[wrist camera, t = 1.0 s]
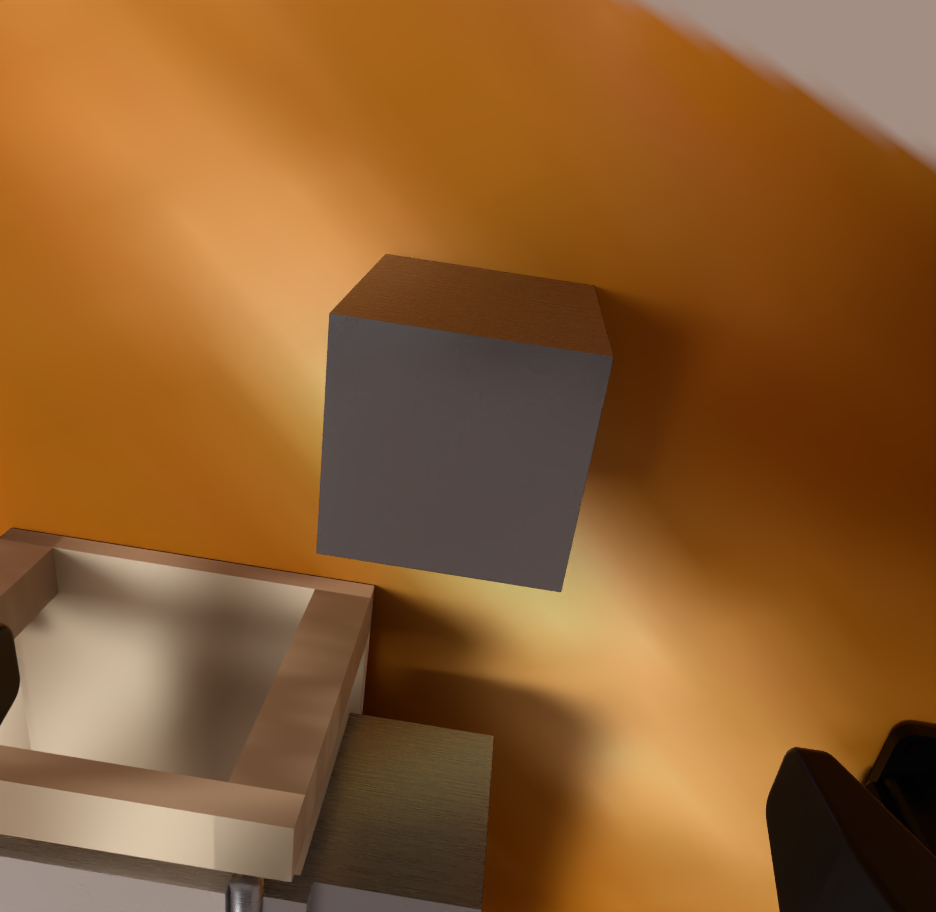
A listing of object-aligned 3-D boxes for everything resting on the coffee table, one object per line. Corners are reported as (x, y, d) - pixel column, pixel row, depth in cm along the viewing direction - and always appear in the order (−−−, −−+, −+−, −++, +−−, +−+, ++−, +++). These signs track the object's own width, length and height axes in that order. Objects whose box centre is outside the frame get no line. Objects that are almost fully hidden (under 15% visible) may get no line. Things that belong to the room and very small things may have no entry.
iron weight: (594, 284, 18) (614, 356, 13) (556, 471, 20) (560, 592, 16) (385, 253, 18) (329, 313, 13) (370, 442, 21) (316, 553, 16)
